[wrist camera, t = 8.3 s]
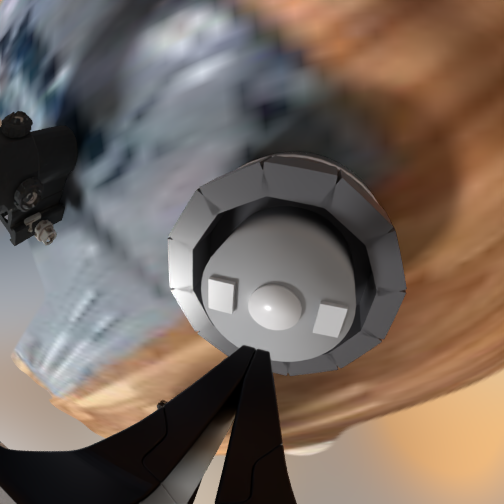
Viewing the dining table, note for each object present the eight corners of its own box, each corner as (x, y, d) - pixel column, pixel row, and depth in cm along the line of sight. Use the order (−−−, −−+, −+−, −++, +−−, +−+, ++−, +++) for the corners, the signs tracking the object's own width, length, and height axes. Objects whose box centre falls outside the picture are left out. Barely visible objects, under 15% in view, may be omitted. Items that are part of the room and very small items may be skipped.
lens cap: (335, 329, 14) (332, 376, 11) (224, 305, 15) (200, 344, 12) (367, 220, 11) (376, 253, 8) (229, 195, 12) (198, 219, 10)
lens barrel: (356, 329, 17) (356, 390, 13) (208, 294, 19) (173, 342, 15) (407, 175, 13) (439, 201, 8) (216, 138, 14) (167, 149, 10)
